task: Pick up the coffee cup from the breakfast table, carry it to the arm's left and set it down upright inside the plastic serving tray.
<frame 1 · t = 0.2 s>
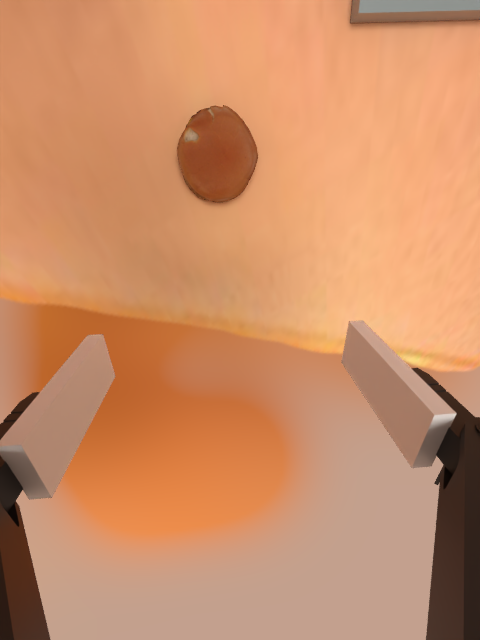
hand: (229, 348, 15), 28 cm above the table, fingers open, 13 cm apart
burger: (216, 159, 35), on the table
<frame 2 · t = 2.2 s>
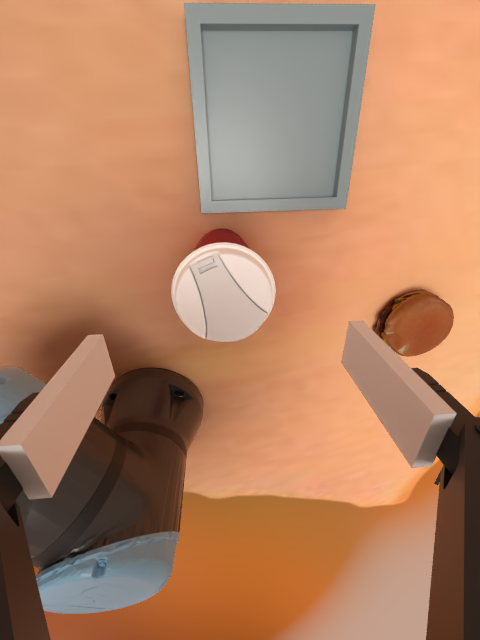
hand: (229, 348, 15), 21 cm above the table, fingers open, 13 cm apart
coffee cup: (222, 253, 34), on the table
tray: (273, 125, 28), on the table
burger: (403, 317, 40), on the table
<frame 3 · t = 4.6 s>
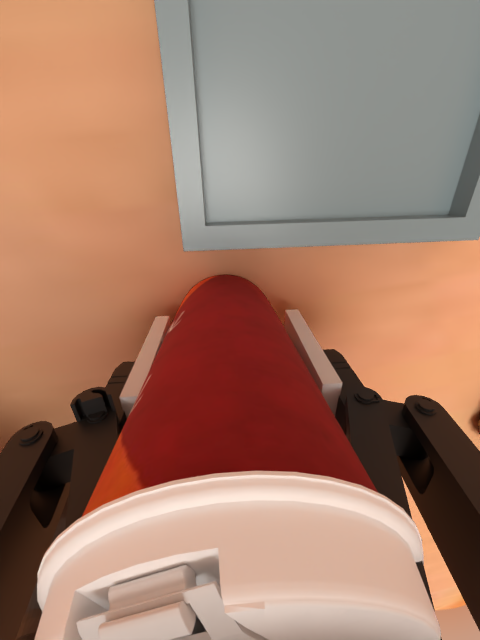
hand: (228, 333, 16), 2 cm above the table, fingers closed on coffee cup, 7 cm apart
coffee cup: (225, 316, 18), on the table, touching gripper
tray: (343, 60, 13), on the table
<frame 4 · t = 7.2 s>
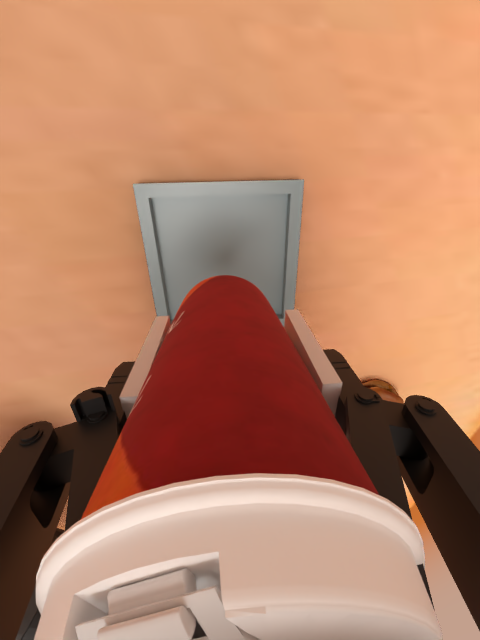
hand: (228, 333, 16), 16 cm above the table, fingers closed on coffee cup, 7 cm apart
coffee cup: (225, 316, 18), point 14 cm above the table, touching gripper
tray: (223, 260, 31), on the table
burger: (362, 399, 43), on the table
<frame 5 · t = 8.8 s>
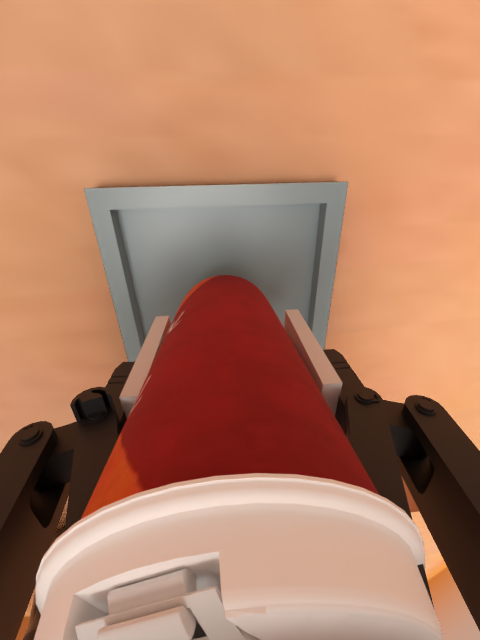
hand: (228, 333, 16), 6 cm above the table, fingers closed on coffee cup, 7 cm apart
coffee cup: (225, 316, 18), point 4 cm above the table, touching gripper
tray: (225, 295, 22), on the table
when the fingers open (4 cm above the table, at t = 10.1 s): coffee cup drops 1 cm, resting on tray.
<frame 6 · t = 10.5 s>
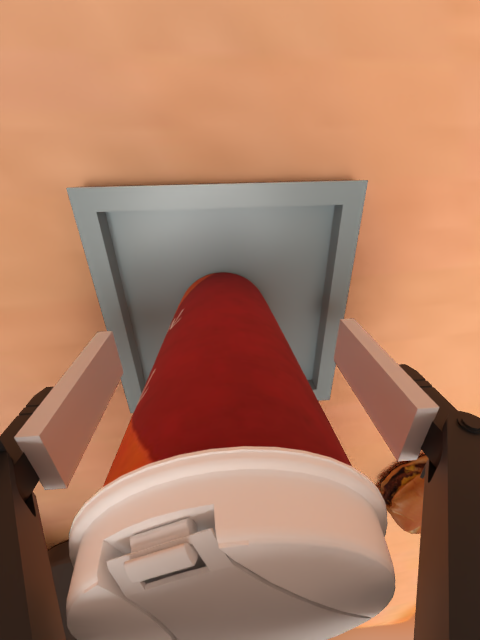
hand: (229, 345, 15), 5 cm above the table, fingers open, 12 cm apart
coffee cup: (223, 311, 19), point 1 cm above the table, touching tray
tray: (226, 305, 20), on the table
burger: (414, 474, 32), on the table
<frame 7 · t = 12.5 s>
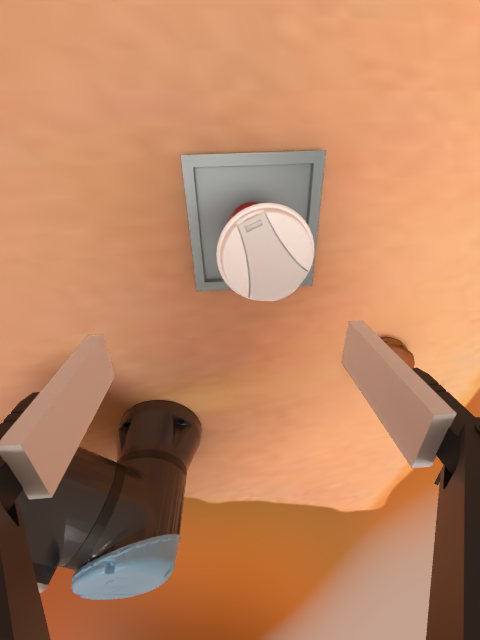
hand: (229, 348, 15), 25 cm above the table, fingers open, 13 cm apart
coffee cup: (251, 227, 35), point 1 cm above the table, touching tray
tray: (252, 225, 35), on the table
burger: (375, 357, 48), on the table
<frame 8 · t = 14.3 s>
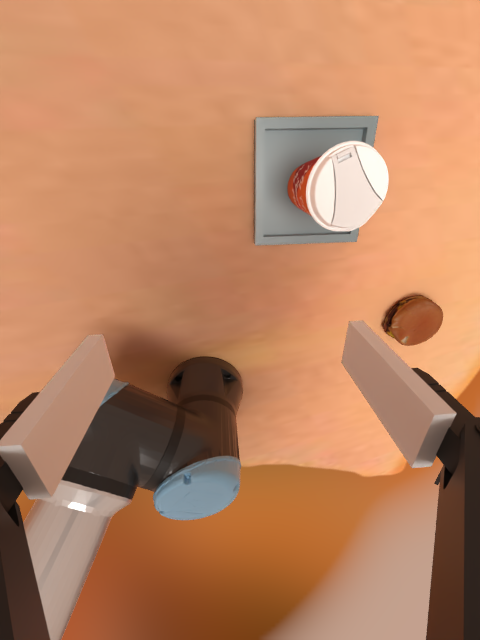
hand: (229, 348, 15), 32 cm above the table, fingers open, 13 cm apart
coffee cup: (307, 187, 40), point 1 cm above the table, touching tray
tray: (307, 185, 40), on the table
burger: (405, 316, 53), on the table
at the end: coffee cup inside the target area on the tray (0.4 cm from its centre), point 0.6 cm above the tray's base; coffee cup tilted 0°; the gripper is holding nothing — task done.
